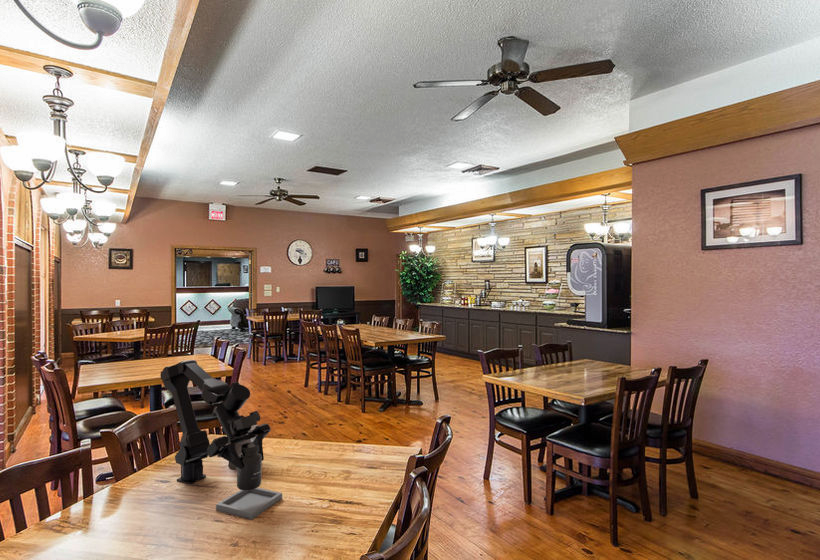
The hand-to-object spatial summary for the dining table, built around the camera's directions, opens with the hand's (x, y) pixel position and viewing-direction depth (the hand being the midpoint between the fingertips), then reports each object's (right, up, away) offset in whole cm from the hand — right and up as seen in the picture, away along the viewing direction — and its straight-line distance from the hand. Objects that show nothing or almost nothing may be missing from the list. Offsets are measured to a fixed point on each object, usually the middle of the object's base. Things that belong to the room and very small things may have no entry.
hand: (252, 464), depth 131 cm
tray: (-1, -12, +1) cm, 12 cm away
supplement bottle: (-1, -7, +1) cm, 7 cm away
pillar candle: (-14, -13, +30) cm, 35 cm away
